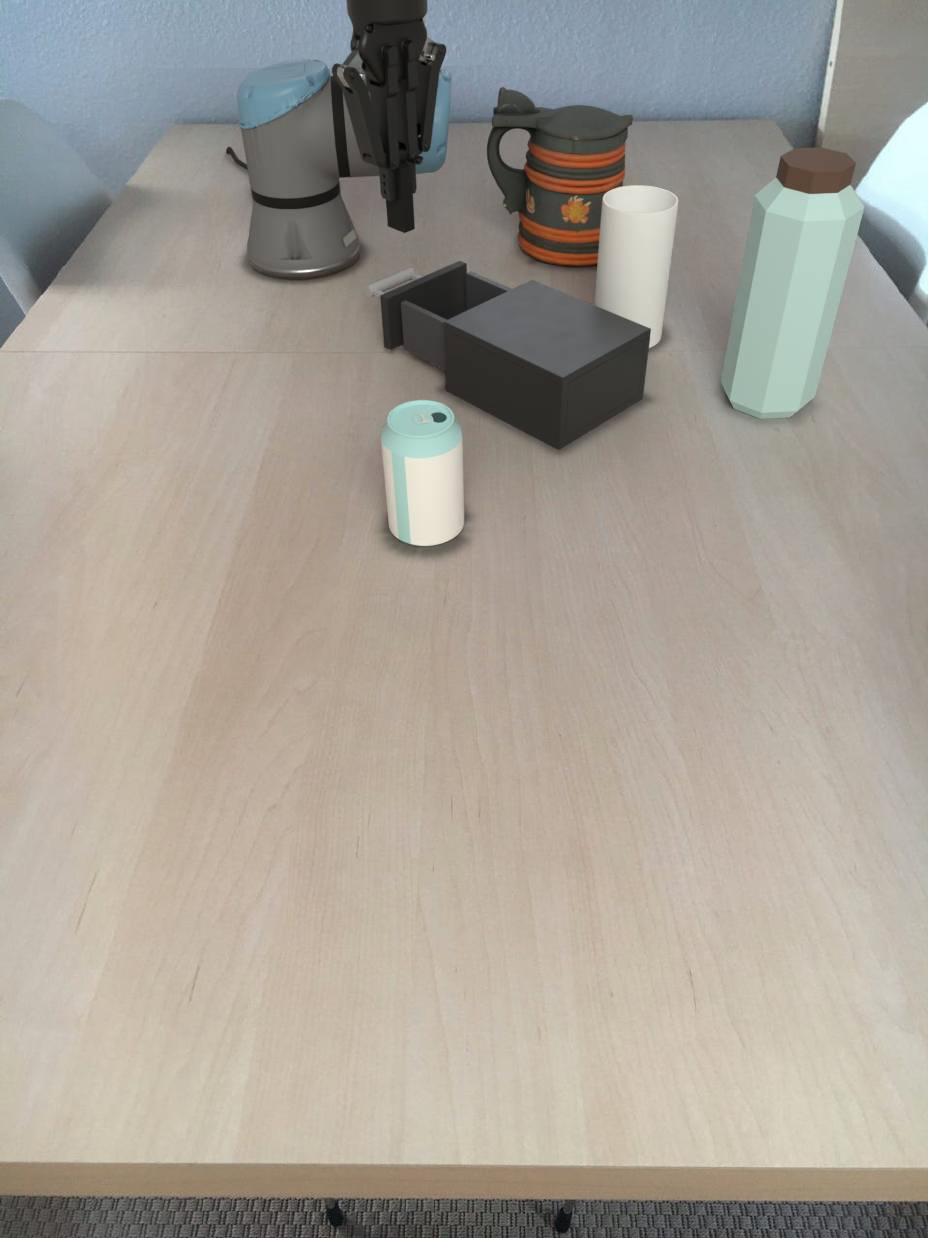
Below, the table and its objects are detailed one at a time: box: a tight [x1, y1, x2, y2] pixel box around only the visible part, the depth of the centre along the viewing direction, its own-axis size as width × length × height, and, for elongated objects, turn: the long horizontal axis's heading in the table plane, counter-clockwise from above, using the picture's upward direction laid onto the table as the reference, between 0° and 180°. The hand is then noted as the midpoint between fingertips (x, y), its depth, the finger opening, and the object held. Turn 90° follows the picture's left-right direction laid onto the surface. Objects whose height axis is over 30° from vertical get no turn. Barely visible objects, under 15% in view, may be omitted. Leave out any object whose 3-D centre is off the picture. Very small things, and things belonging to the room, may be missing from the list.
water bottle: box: [720, 147, 865, 420], centre depth 99 cm, size 10×10×25 cm
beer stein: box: [486, 86, 634, 268], centre depth 130 cm, size 19×15×20 cm
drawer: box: [364, 260, 512, 371], centre depth 114 cm, size 22×13×6 cm, turn 44°
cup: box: [593, 184, 679, 349], centre depth 113 cm, size 8×8×16 cm
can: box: [380, 399, 465, 547], centre depth 88 cm, size 7×7×12 cm
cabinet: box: [444, 279, 651, 451], centre depth 106 cm, size 17×14×8 cm
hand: (401, 227), depth 106 cm, fingers closed
